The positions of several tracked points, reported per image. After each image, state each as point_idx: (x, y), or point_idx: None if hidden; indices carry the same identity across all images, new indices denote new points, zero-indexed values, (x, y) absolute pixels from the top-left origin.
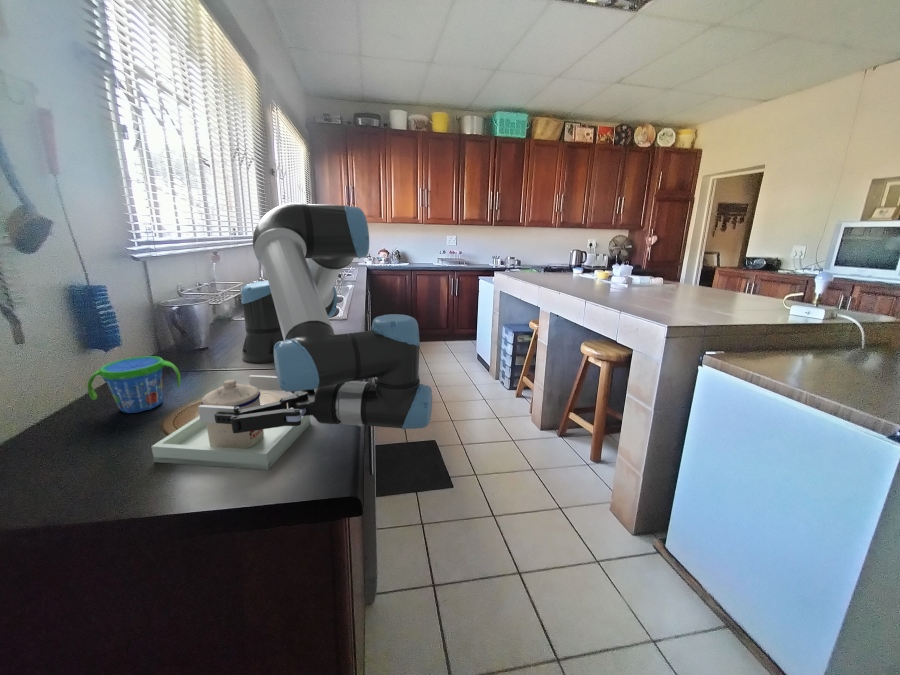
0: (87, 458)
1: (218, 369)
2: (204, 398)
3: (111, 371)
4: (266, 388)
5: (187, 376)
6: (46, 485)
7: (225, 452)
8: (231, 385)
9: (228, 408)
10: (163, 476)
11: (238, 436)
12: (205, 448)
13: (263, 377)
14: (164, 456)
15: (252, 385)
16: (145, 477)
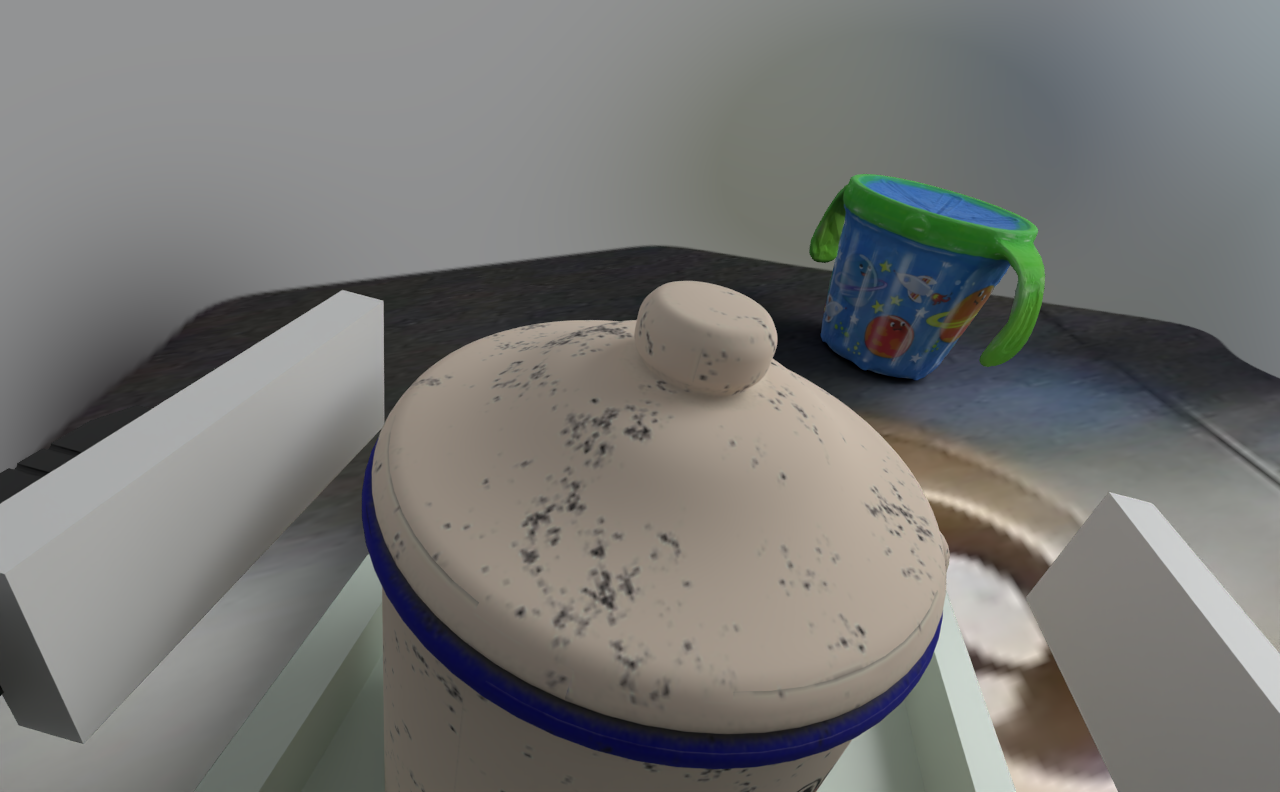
0: None
1: (1247, 454)
2: (570, 322)
3: (867, 185)
4: (1122, 759)
5: (1118, 395)
6: (427, 304)
7: (238, 735)
8: (653, 348)
9: (74, 462)
10: (333, 509)
11: (388, 765)
12: (367, 584)
13: (1214, 639)
14: None
15: (1059, 589)
16: (359, 460)
